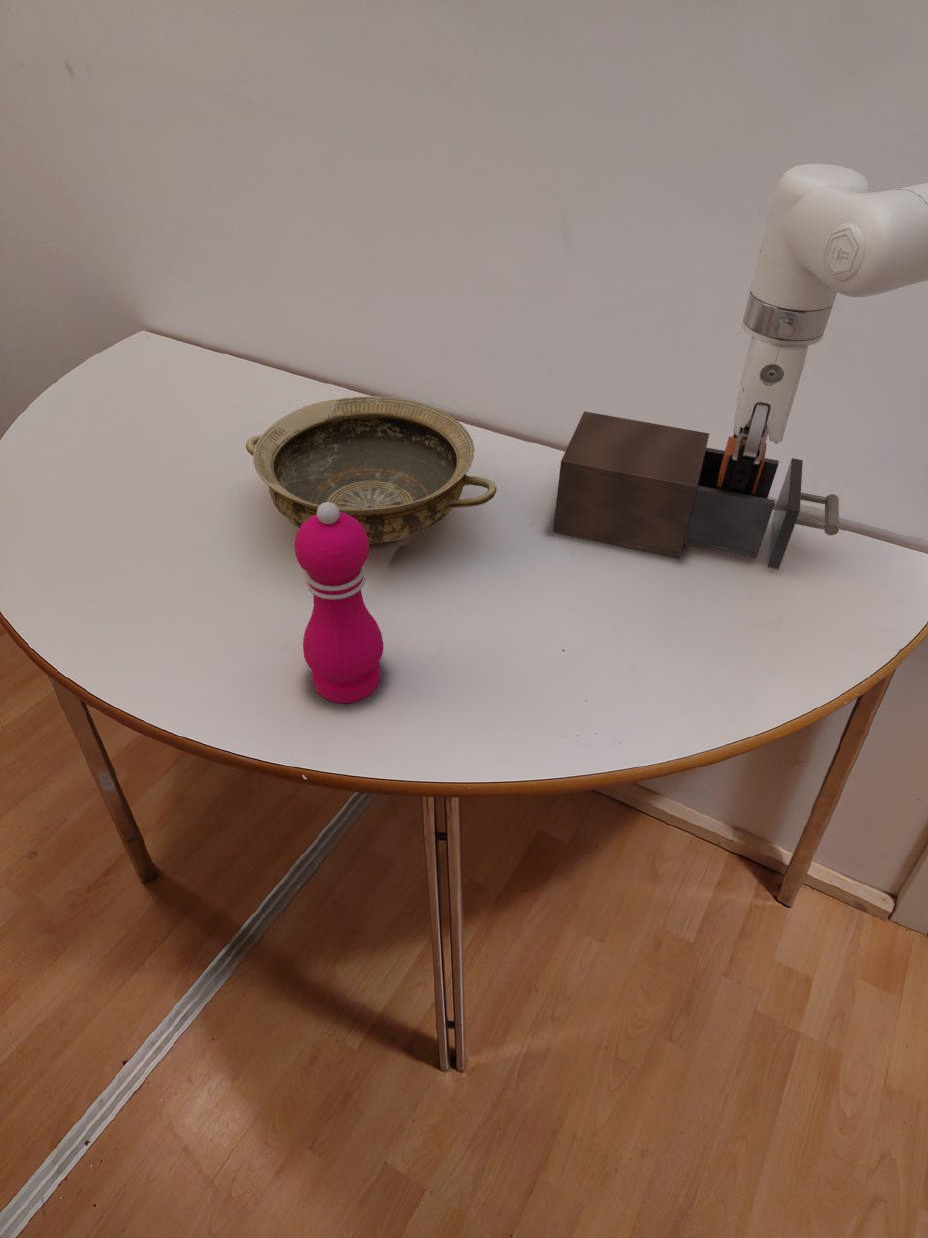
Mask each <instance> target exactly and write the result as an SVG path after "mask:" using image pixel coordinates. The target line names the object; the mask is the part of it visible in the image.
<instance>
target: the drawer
mask: <svg viewBox="0 0 928 1238" xmlns="http://www.w3.org/2000/svg"><path fill="white" fill-rule="evenodd" d="M724 452H725V450H724V449H723V450H722V449H717V448H711V447H706V451H705V456H704V460H703V465H702V469H701V473H700V478H699V482H698V487H697V491H696V495H695V499H694V503H693V507H692V511H691V515H690V518H689V522H688V526H687V530H686V534H685V538H684V542H683V545H689V546H693V547H698V548H703V549H707V550H712V551H716V552H717V551H718V552H722V553H727V554H732V555H737V556H741V557H745V558H752V559H755V560H756V559H757V558H758V555H759V552H760V550H761V546H762V543H763V541H764V540H763V539H764V537H765V535H766V531H767V529H768V525H769V522H770V520H771V519H772V520H771V527H770V538H769V539H770V540H769V549H768V560H767V568H769V569H774V570H780V567H781V565H782V562H783V559H784V557H785V554H786V550H787V548H788V545H789V543H790V540H791V537H792V534H793V531H794V529H795V525H799V526H803V527H808V528H812V529H819V530H823V531H824V534H826V535H828V536H836V535H838V533H839V531H840V499H839V496H838V495H837V494H828V495H827V496H821V495H816V494H811V493H806V492H802V483H803V482H802V481H803V465H804V463H803V462H804V460H803V459H799V458H793V457H792V458H791V460H790V462H789V465H788V468H787V471H786V475H785V477H784V479H783V483H782V486H781V489H780V492H779V495H778V498H777V501H775V499H770V498H768V497H769V495H770V491H771V489H772V485H773V483H774V479H775V476H776V474H777V471H778V467H779V464H780V460H777V459H773V458H768V457H767V458H766V457H765V461H764V465H763V468H762V471H761V474H760V478H759V481H758V484H757V487H756V490H755V493H751V494H750V495H746V494H741V493H736V492H730V491H725V490H723V489H722V488H721V487H718V486H717V482H718V477H719V472H720V467H721V463H722V460H723V456H724ZM801 501H805V502H810V503H815V504H821V505H824V521H819V520H814V519H810V518H804V517H799V515H800V512H801ZM775 503H776V504H775ZM771 517H772V518H771Z"/></svg>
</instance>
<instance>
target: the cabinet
mask: <svg viewBox="0 0 928 1238" xmlns="http://www.w3.org/2000/svg"><path fill="white" fill-rule="evenodd" d="M709 437H710V433H709V432H704V431H697V430H692V429H685V428H681V427H675V426H670V425H665V424H658V423H652V422H648V421H641V420H636V419H630V418H624V417H620V416H619V417H618V416H613V415H608V414H602V413H596V412H590V411H585V410H584V411H583V413H582V415H581V417H580V419H579V422H578V423H577V426H576V428H575V430H574V432H573V434H572V436H571V438H570V441H569V442H568V445H567V447H566V449H565V451H564V453H563V455H562V457H561V460H560V465H559V466H560V467H559V476H558V485H557V492H556V499H555V500H556V502H555V509H554V518H553V528H552V532H553V533H554V534H555V533H556V534H561V535H565V536H570V537H575V538H580V539H583V540H584V539H585V540H589V541H594V542H598V543H603V544H607V545H612V546H617V547H622V548H627V549H632V550H636V551H641V552H645V553H651V554H655V555H659V556H664V557H669V558H673V559H680V558H681V553H682V550H683V546H684V544H683V542H684V538H685V534H686V530H687V526H688V522H689V518H690V515H691V511H692V507H693V503H694V499H695V495H696V491H697V487H698V482H699V478H700V473H701V469H702V465H703V460H704V456H705V451H706V448H708V447H707V446H708V442H709Z"/></svg>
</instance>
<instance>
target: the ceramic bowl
mask: <svg viewBox="0 0 928 1238" xmlns="http://www.w3.org/2000/svg"><path fill="white" fill-rule="evenodd" d="M245 449H246V451H247V452H248V453H249V455H251V456H252V461H253V466H254V469H255V471H256V474H257V475H258V477H259V478H260V479H261V481H262V482H263V483H264V484H265V485H267V486H268V492H269V495H270V498H271V500H272V503H273V505H274V506H275V508H276V509H277V510H278V512H279V513H280V514H281V515H282V516H283V517H284V518H285V519H287V521H289V523H291V524H292V525H294V526H295V527H297V528H298V529H299V528H300V527H301V525H302V524H303V523H304V522H305V521H306V520H307V519H309V518H310V517H312V516H314V515H316V514H317V509H318V507H319V506H320V505H321V504H322V503H325V502H331V503H334V504H335V505H336V506H337V507H338V509H339V512H342V513H345V514H348V515H350V516H352V517H353V518H355V519H356V520H358V522H359V523H360V524H361V525H362V526H363V528H364V530H365V531H366V533H367V537H368V541H369V545H370V544H381V543H388V542H389V543H390V542H393V541H397V540H402V539H405V538H409V537H411V536H415V535H417V534H419V533H422V532H423V531H425V530H428V529H429V528H432V527H433V526H435V525H436V524H437V523H439V522H440V521H441V520H443V519H444V518H445V517H446V516H447V515H449V513H450V512H451V511H452V510H453V509H457V508H469V507H470V508H471V507H478V506H480V505H484V504H486V503H488V502H489V501H491V500H492V499H493V498H494V497H495V495H496V494H497V485H496V483H495V482H494V481H493V480H491V479H488V478H485V477H480V476H470V475H467V473H468V472H469V469H471V467H472V465H473V462H474V457H475V445H474V441H473V438H472V436H471V435H470V433H469V431H468V430H467V429H466V427H464V425H463V423H460V421H458V420H457V419H455V418H454V417H452V416H451V415H450V414H449V413H447V412H445V411H443V410H440V409H439V408H437V407H435V406H434V407H433V406H431V405H429V404H427V403H426V404H425V403H423V402H418V401H415V400H411V399H405V398H401V397H400V398H398V397H391V396H390V397H389V396H373V395H372V396H371V395H370V396H368V395H367V396H352V397H341V398H336V399H335V398H334V399H328V400H323V401H322V400H321V401H319V402H315V403H312V404H308V405H306V406H302V407H301V408H298V409H297V410H294V411H292V412H290V413H288V414H287V415H284V416H283V417H282V418H280V419H278V420H277V421H275V422H274V423H273V424H272V425H270V426H269V427H268V428H267V429H266V430H265V431H264V432H263V433H262V434H258V435H254V436H252V437H250V438H249V439H248V440H247V441H246V442H245ZM465 486H475V487H483V488H486V489H487V492H485V493H484V494H482V495H479V496H476V497H470V498H465V499H464V498H462V499H461V495H462V492H463V489H464V487H465Z"/></svg>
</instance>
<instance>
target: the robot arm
mask: <svg viewBox="0 0 928 1238" xmlns="http://www.w3.org/2000/svg"><path fill="white" fill-rule="evenodd" d="M926 281H928V182H924V183H918V184H914V185H909V186H905V187H904V186H903V187H899V188H893V189H890V190H889V189H888V190H882V191H881V190H880V191H873V192H870V185H869V182H868V180H867V178H866V177H865V176H864V174H862V173H860V172H858V171H857V170H855V169H852V168H849V167H847V166H842V165H836V164H831V163H830V164H829V163H804V164H800V165H799V164H798V165H796V166H793V167H791V168H789V169H788V170H787V171H786V172H785V173H784V174H783V175H782V176H781V177H780V179H779V181H778V183H777V185H776V189H775V193H774V196H773V199H772V204H771V207H770V212H769V217H768V219H767V223H766V227H765V231H764V234H763V238H762V243H761V246H760V251H759V255H758V258H757V262H756V266H755V271H754V274H753V278H752V282H751V285H750V290H749V292H748V293H749V294H748V297H747V300H746V301H747V302H746V306H745V308H744V314H743V316H742V322H741V329H742V330H743V331H744V332H745V333H746V334H747V335H749V336H750V340H749V345H748V348H747V352H746V357H745V359H744V364H743V369H742V374H741V378H740V381H739V382H740V383H739V386H738V392H737V398H736V404H735V405H736V407H735V411H734V422H733V431H732V432H733V434H732V435H733V436H732V437H736V438H737V441H736V445H735V449H734V452H733V455H730V457H729V461H728V464H727V468H726V471H725V475H724V479H723V482H722V487H721V488H722V489H723V490H725V491H730V492H736V493H741V494H746V495H750V494H751V493H752V491H753V488H754V485H755V481H756V478H757V475H758V472H759V468H760V465H761V461H760V459H761V456H762V453H763V449H764V446H765V443H767V440H768V439H769V442H772V443H774V444H776V445H777V444H780V443H782V441H783V439H784V437H785V436H784V435H785V431H786V428H787V424H788V421H789V419H790V414H791V412H792V408H793V405H794V401H795V397H796V395H797V391H798V387H799V384H800V381H801V377H802V374H803V370H804V367H805V363H806V358H807V354H808V351H809V347H810V346H812V345H816V344H818V343H819V342H820V341H822V339H823V338H824V334H825V331H826V328H827V325H828V322H829V319H830V316H831V312H832V310H833V307H834V303H835V301H836V297H837V294H841V295H843V296H847V297H849V298H867V297H873V296H877V295H880V294H884V293H887V292H891V291H894V290H897V289H898V290H899V289H902V288H904V287H907V286H912V285H914V284H918V283H922V282H926ZM743 439H747V441H746V444H745V445H744V444H742V441H743ZM741 444H742V446H741Z"/></svg>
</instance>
